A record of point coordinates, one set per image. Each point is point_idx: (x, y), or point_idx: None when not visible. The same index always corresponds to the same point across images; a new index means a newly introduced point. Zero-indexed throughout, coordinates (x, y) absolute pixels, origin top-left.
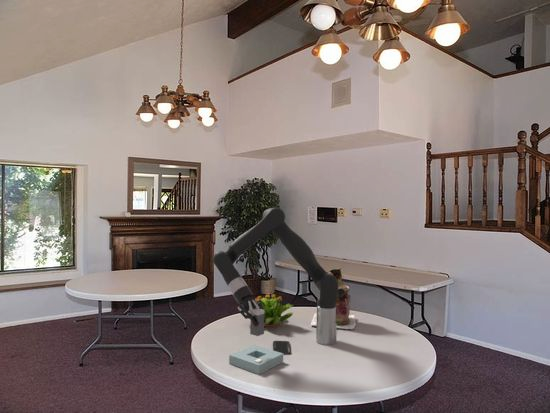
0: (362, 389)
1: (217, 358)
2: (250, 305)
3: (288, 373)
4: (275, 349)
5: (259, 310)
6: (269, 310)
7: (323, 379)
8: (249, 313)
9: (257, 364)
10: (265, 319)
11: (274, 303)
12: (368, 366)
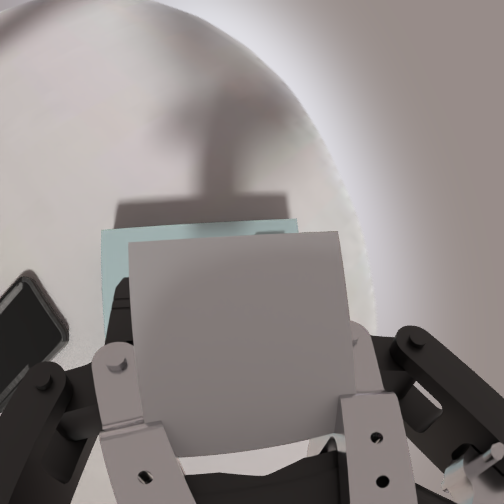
0: (150, 5)
1: None
2: (374, 499)
3: (192, 154)
4: (38, 354)
5: (249, 285)
6: None
7: (155, 65)
8: (410, 354)
9: (295, 230)
10: (119, 285)
11: None
12: (14, 56)
